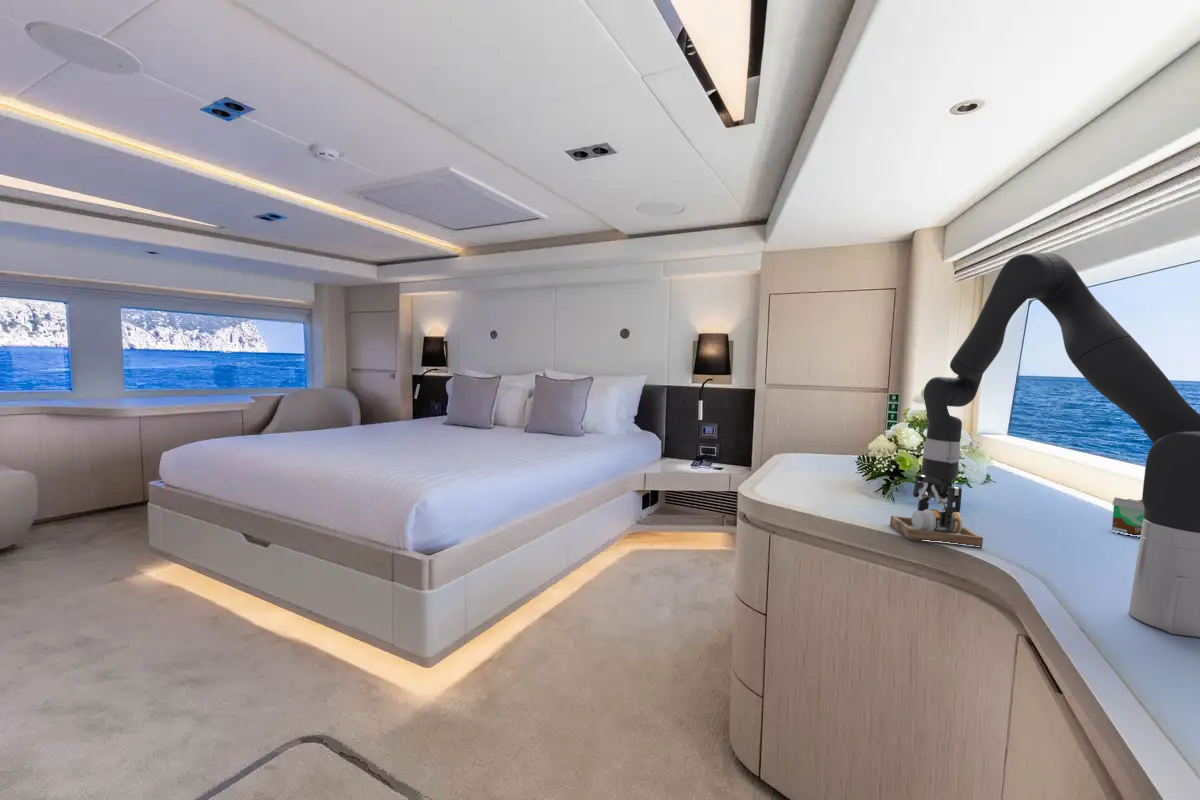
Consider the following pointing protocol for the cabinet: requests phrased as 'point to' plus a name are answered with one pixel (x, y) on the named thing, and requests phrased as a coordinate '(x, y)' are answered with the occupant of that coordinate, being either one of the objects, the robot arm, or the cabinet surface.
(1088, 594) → the cabinet surface
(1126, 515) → the food container
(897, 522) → the tray
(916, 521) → the pill bottle
